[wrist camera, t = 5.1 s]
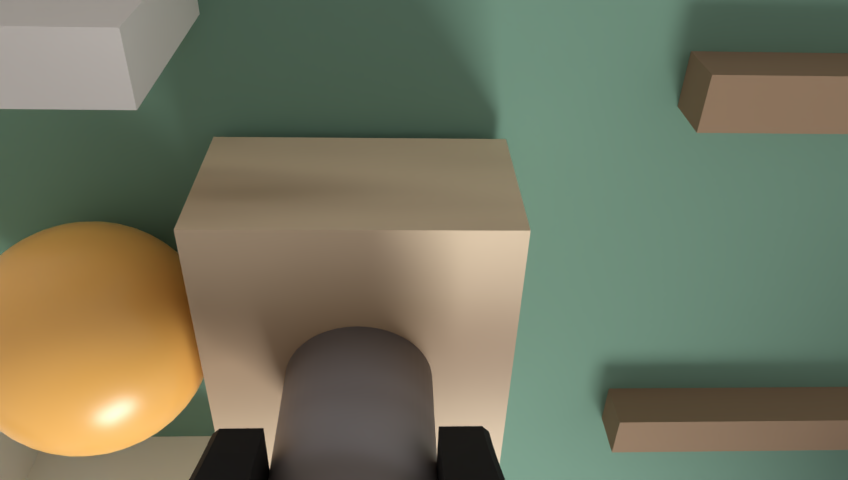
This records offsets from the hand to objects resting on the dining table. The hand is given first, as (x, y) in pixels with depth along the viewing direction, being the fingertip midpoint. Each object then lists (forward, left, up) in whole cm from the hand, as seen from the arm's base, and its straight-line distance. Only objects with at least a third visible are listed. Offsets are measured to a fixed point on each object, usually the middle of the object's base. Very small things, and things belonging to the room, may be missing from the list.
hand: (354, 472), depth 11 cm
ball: (0, +5, -3) cm, 5 cm away
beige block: (0, 0, -5) cm, 5 cm away
